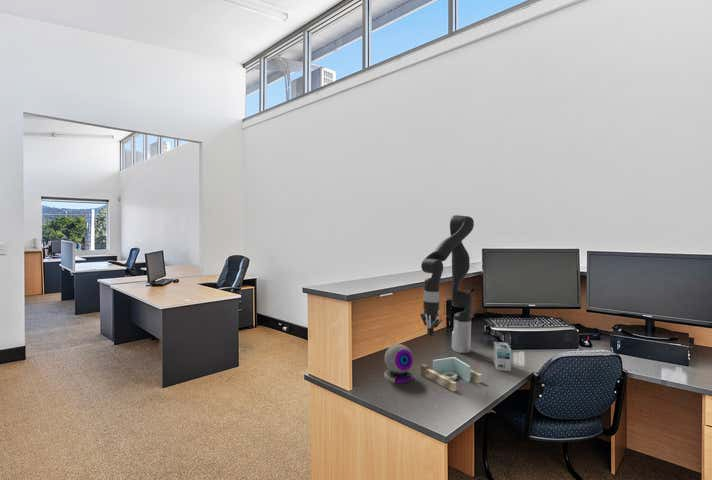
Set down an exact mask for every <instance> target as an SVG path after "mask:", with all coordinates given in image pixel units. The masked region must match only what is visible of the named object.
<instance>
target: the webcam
mask: <svg viewBox="0 0 712 480" xmlns="http://www.w3.org/2000/svg"><path fill="white" fill-rule="evenodd" d="M383 359H384V363H385V366H386V367H387V369H386V370H385V371H384V373H383V375H384V376H383V377H384V379H385V380H386V381H388V382H390V383H393V384H394V383H407V382H410V380H414V377H413V376H414V375H413V373H412V371H410V370H411V368H412V367H413V363H414V355H413V353H412V351H411V349H410V348H409V347H408V346H406V345H404V344H402V343H401V344H399V343H397V344H392V345H391V346H390V347H388V349H387V350H386V351H385V354H384V358H383Z"/></svg>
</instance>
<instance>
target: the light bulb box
mask: <svg viewBox="0 0 712 480" xmlns="http://www.w3.org/2000/svg"><path fill="white" fill-rule="evenodd" d="M493 364H494V367H495V369H496V371H503V372H504V371H505V372H511V371H512V348H511V347H510V345H509V344H508V342H502V341H501V342H500V341H493Z"/></svg>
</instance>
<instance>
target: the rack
mask: <svg viewBox="0 0 712 480" xmlns="http://www.w3.org/2000/svg"><path fill="white" fill-rule="evenodd" d="M420 376H423V377H424V378H427V379H429V380H431V381H432V382H434V383H436V384H438V385H440V386H442V387H444V388H446V389H447V390H450V391H451V392H456V391H457V383H458V382H457V381H456V380H451V379H449V378H447V377H445V376H443V375H442V374H439V373H437V372H435V371H433V369H430V368H429V365H427V364H426V363H424V364H420ZM470 381H473V382H475V383H478V384H481V383H482V382H483V374H482V373H480V372H478V371H475V370H473V369H471V372H470Z"/></svg>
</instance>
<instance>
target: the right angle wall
mask: <svg viewBox="0 0 712 480" xmlns="http://www.w3.org/2000/svg"><path fill="white" fill-rule="evenodd" d="M432 370H433V371H435V372H437V373H439V374H441V375H443V376H445V377H447V378H449V379H451V380H453V381H456V380H457V379H458V377H461V378H462V379H463V380H465V381H466V382H468V383H469V382H471V379H470V372H471V370H472V368H471V365H469V364H467V363H466V362H464V361H462V360H460V359H458V357H455V356H453V357H445V358H439V359H433V360H432Z"/></svg>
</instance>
